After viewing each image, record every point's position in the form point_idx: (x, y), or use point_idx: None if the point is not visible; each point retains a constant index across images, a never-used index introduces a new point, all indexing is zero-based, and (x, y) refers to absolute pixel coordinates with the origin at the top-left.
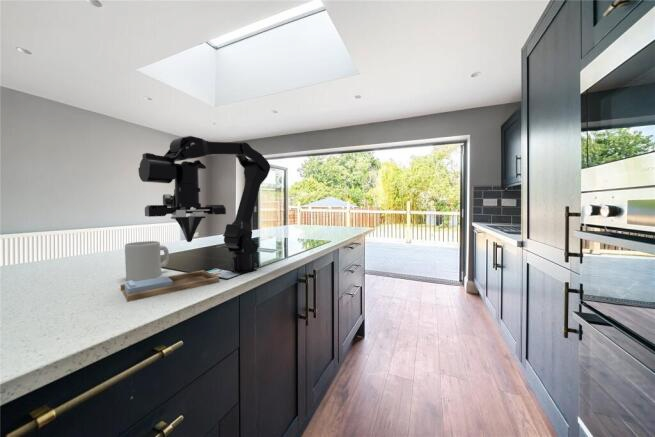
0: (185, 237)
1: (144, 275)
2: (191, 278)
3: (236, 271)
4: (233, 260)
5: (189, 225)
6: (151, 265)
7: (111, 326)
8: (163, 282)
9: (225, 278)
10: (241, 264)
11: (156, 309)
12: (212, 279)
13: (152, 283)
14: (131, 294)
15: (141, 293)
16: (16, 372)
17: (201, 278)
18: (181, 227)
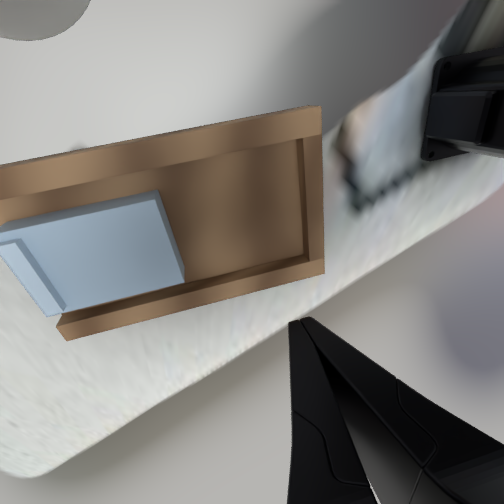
0: (289, 352)
1: (3, 30)
2: (252, 162)
3: (428, 139)
4: (468, 135)
5: (390, 456)
6: (14, 3)
7: (90, 407)
8: (154, 289)
9: (358, 193)
10: (470, 148)
11: (156, 365)
12: (303, 277)
13: (117, 287)
14: (73, 331)
15: (102, 331)
16: (27, 475)
17: (285, 187)
18: (294, 458)
